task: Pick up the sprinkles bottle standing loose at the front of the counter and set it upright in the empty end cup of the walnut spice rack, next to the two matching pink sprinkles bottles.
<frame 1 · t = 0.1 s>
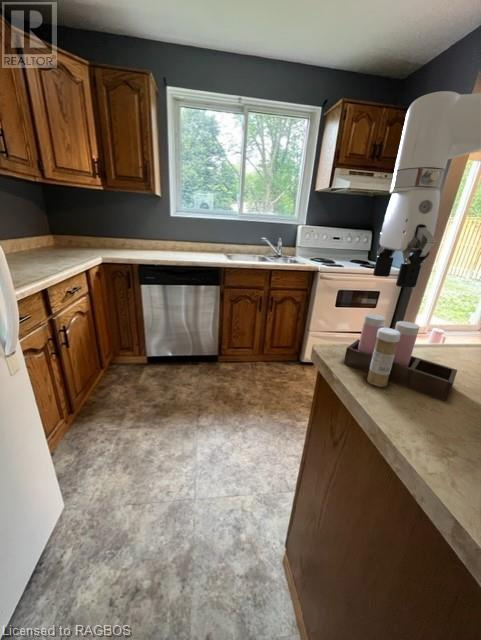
hand: (392, 280, 53), 25 cm above the countertop, tool pointing down, fingers open, 9 cm apart
pink bottle b: (365, 361, 74), point 1 cm above the countertop, touching spice rack
pink bottle a: (394, 372, 69), point 1 cm above the countertop, touching spice rack
sprinkles bottle: (376, 382, 65), on the countertop
spice rack: (394, 374, 69), on the countertop
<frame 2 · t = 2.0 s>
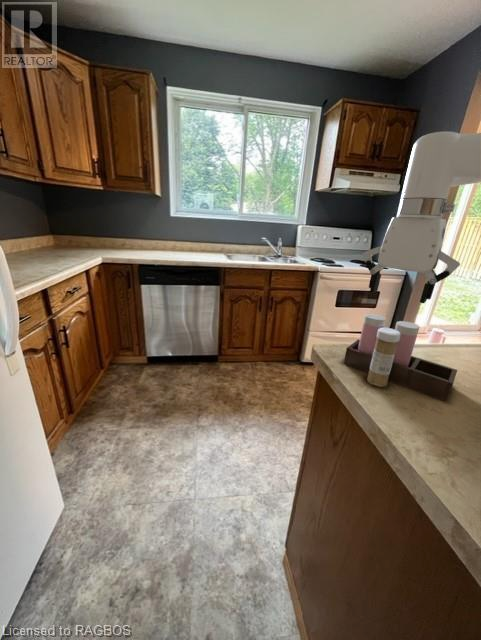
hand: (396, 296, 58), 21 cm above the countertop, tool pointing down, fingers open, 9 cm apart
nothing on the countertop moved.
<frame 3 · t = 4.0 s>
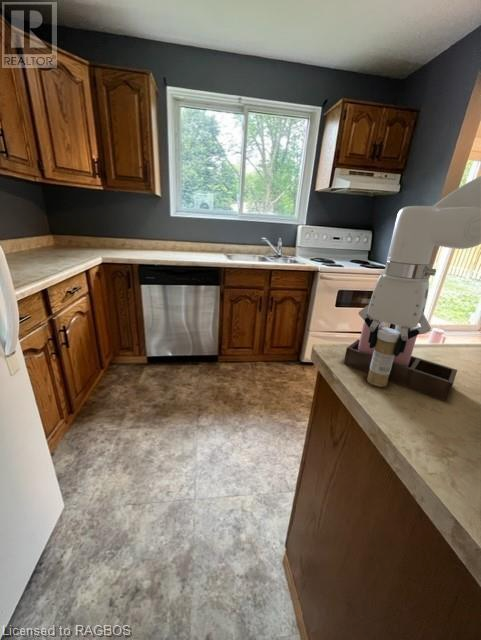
hand: (384, 349, 62), 9 cm above the countertop, tool pointing down, fingers closed on sprinkles bottle, 4 cm apart
sprinkles bottle: (376, 382, 65), on the countertop, touching gripper
everything else where it was.
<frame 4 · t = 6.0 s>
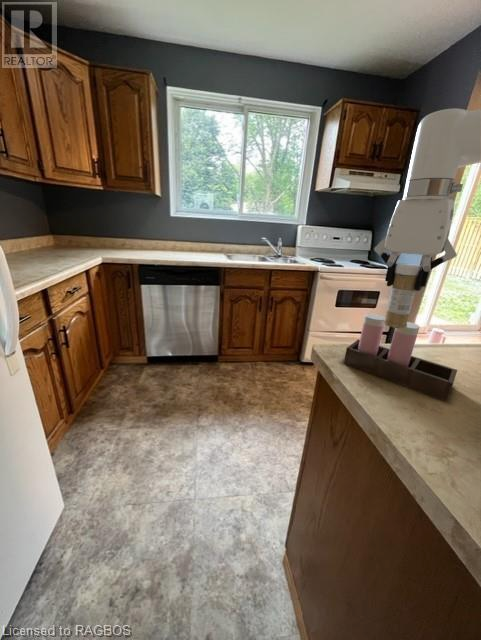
hand: (403, 286, 57), 24 cm above the countertop, tool pointing down, fingers closed on sprinkles bottle, 4 cm apart
sprinkles bottle: (394, 326, 60), point 15 cm above the countertop, touching gripper
everything else where it was.
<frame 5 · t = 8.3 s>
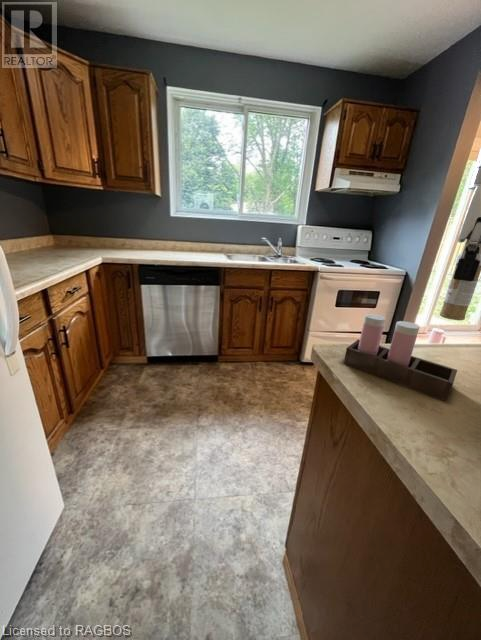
hand: (464, 277, 56), 26 cm above the countertop, tool pointing down, fingers closed on sprinkles bottle, 4 cm apart
sprinkles bottle: (451, 318, 59), point 17 cm above the countertop, touching gripper
everything else where it was.
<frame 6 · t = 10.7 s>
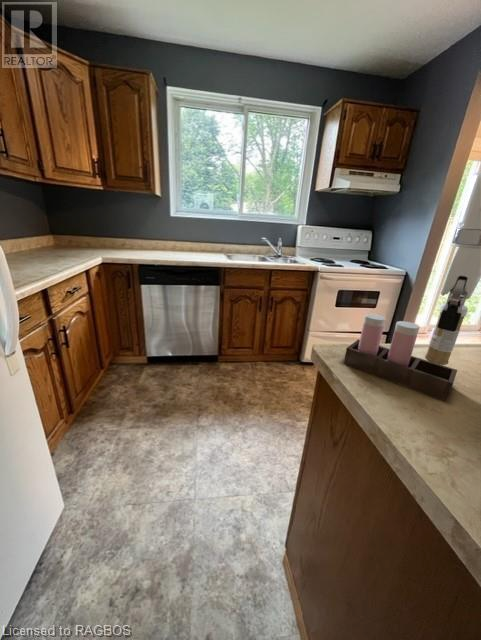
hand: (448, 325, 59), 16 cm above the countertop, tool pointing down, fingers closed on sprinkles bottle, 4 cm apart
sprinkles bottle: (435, 361, 62), point 7 cm above the countertop, touching gripper
everything else where it was.
when the fingers open (10 cm above the countertop, at t = 12.5 s): sprinkles bottle stays where it is, resting on spice rack.
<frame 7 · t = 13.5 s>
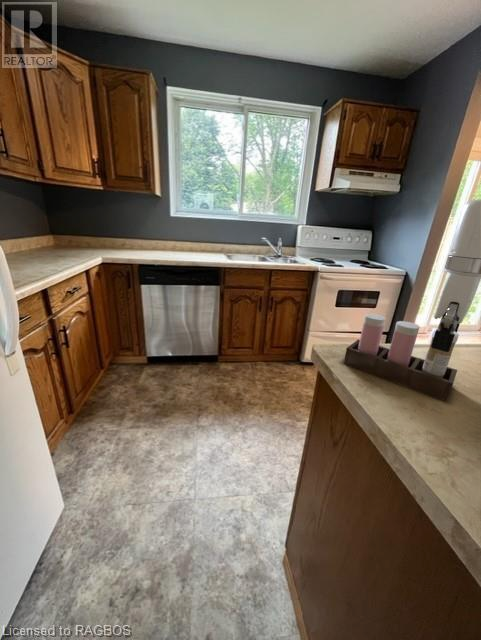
hand: (443, 342, 61), 11 cm above the countertop, tool pointing down, fingers open, 9 cm apart
sprinkles bottle: (428, 384, 64), point 1 cm above the countertop, touching spice rack
everything else where it was.
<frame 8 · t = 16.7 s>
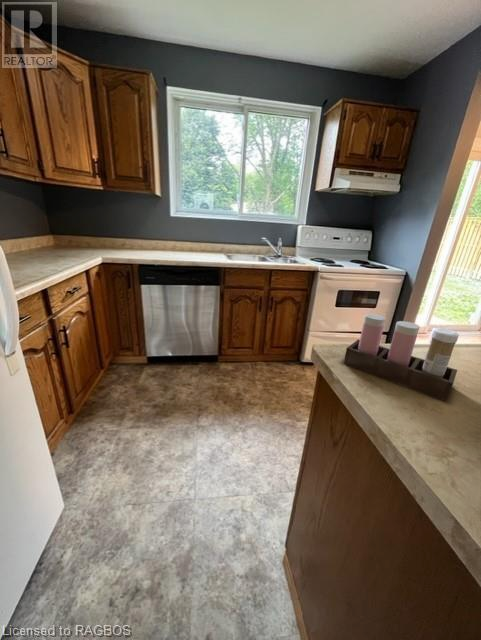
nothing on the countertop moved.
at the end: sprinkles bottle 0.0 cm from the target spot in the spice rack, point 0.6 cm above the spice rack's base; sprinkles bottle tilted 0°; the gripper is holding nothing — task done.
